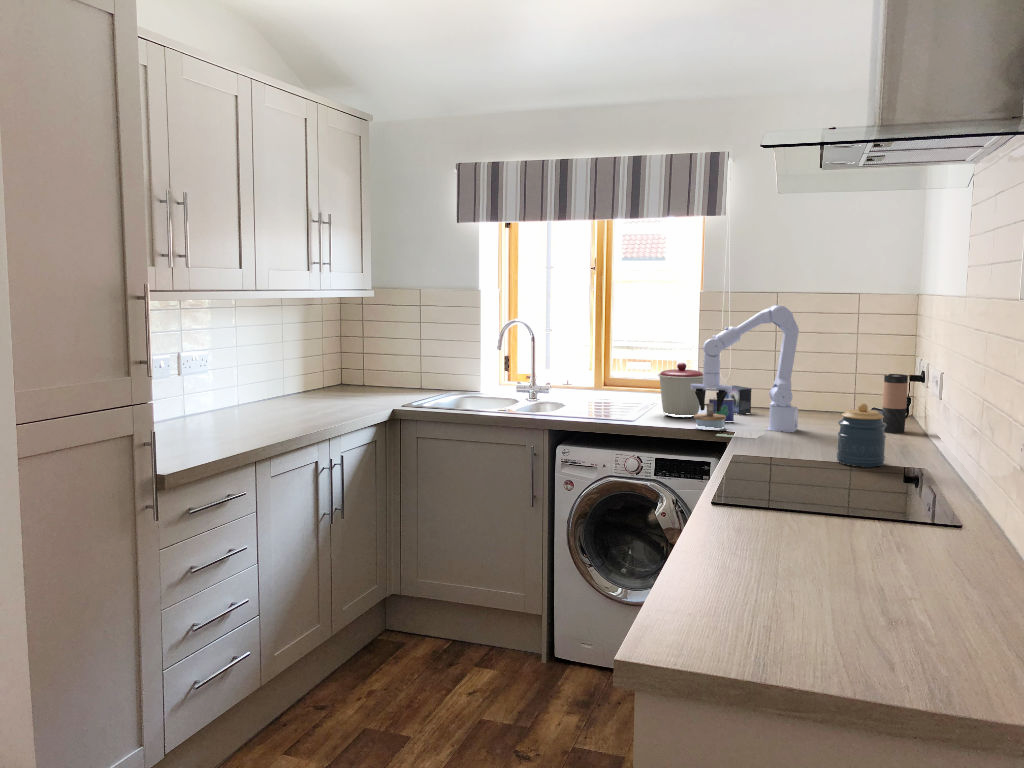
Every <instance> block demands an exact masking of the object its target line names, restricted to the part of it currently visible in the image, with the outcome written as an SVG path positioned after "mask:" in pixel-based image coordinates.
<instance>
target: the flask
mask: <svg viewBox="0 0 1024 768" xmlns="http://www.w3.org/2000/svg"><path fill="white" fill-rule="evenodd" d="M708 403H713V404H714V414H720V415H724V416H726V419H725V421H734V419H735V418H734V417H735V416H734V415H735V414H734V399H724V400H723V403H722V406H721V410H720V411H719V412H717V396H716V397H712V398H709V399H708Z"/></svg>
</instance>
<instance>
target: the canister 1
mask: <svg viewBox="0 0 1024 768" xmlns="http://www.w3.org/2000/svg"><path fill="white" fill-rule="evenodd" d="M686 368H687V364H686V363H685V362H679V363H678V364H677V366H676V368H675V369H665V370H663V371H661V372H660V373H657V376H658V377H659V386H660V397H661V398H660V399H661V405H662V411H663V413H664V412H665V413H668V414H675V415H696V414H699V411H700V404H699V400H698V398H697V396H696V394H695V391H696V390H695V389H694V390H691V384H703V372H702V371H700V370H696V369H694V370H693V369H686Z"/></svg>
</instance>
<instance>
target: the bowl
mask: <svg viewBox="0 0 1024 768" xmlns="http://www.w3.org/2000/svg"><path fill="white" fill-rule="evenodd" d="M696 424H697V425H698V426H705V427H714V428H722V427H724V428H725V424H726V423H725V420H719V421H707V420H699V419H695V425H696Z"/></svg>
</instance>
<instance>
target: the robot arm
mask: <svg viewBox="0 0 1024 768" xmlns="http://www.w3.org/2000/svg"><path fill="white" fill-rule="evenodd" d="M762 324H774V325H775V326H777V327H778V329H780V331H781V332H782V333H783V334H782V338H781V339H782V340H781V345H780V346H781V347H780V352H779V357H778V358H779V359H778V364H777V370H776V371H777V372H776V376H775V379H774V381H773V385H772V387H771V388H770V390H769V398H770V400H771V402H770V403H769V416H768V418H769V419H768V420H769V422H768V427H767V428H765V431H768V430H772V431H771V432H779V431H783V432H782V433H790V432H793V433H795V432H796V431H798V430H799V427H798V426H799V425H798V423H799V408H798V407H797V406H792V403H791V402H792V400H793V393H792V374H793V368H794V363H795V356H796V350H797V343H798V337H799V331H800V330H799V329H800V328H799V326H798V325H797V322H796V319H795V318H794V314H793V312H792V311H791V310H790V309H789V308H788V307H786V306H785V305H779V304H774V305H772V306H770V307H769V308H765V309H763V310H761V311H759V312H757V313H756V314H754V315H753V316H751V317H750V318H748V319H747V320H745V321H744V322H742V323H741V324H739V325H737V326H736V327H735V326H729V327H728V326H726V327H724V330H723V331H721V332H719V333H717V334H714V335H712V338H709V339H706V340H705V341H704V343H703V346H702V350H703V353H704V354H703V367H702V368H703V369H702V370H703V372H702V373H703V384H691V390H694V389H695V390H696V391H695V394H696V396H697V398H698V400H699V404H700V407H699V409H700V411H704V410H705V408H706V404H705V402H706V399H705V398H706V393H707V391H711V392H715V394H716V397H717V398H716V399H717V412H719V411H720V410H721V406H722V403H723V400H724V398H725V396H726V394H727V392H732V386H733V385H723V384H721V383H720V381H721V374H720V372H721V359H720V357H721V352H722V351H723V350H726V349H727V348H729V347H731V346H732V345H734V344H735V343H737V342H739V341H740V340H741V336H742V335H743V334H745V333H747V332H749V331H751V330H753V329H754V328H756V327H758V326H760V325H762Z"/></svg>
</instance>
